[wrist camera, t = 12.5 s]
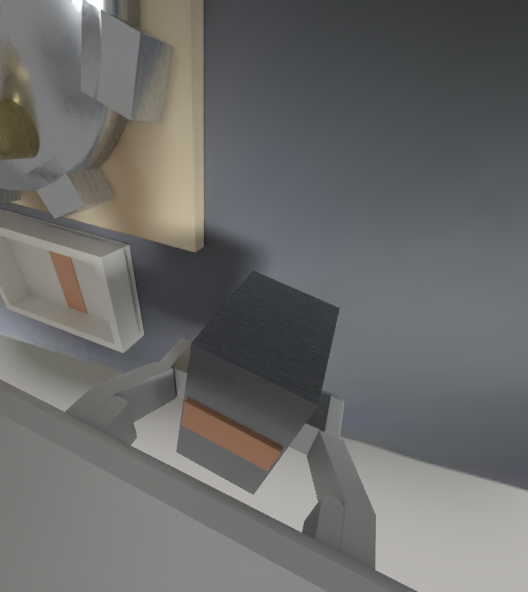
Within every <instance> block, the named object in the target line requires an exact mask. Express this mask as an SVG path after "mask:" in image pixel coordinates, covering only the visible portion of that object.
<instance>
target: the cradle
mask: <svg viewBox="0 0 528 592" xmlns="http://www.w3.org/2000/svg"><path fill="white" fill-rule="evenodd" d="M0 295H1V297H2V299H3V301H4V303H5V305H6V307H7V309H8V310H11V311H14V312H16V313H19V314H22V315H24V316H27V317H29V318H32V319H35V320H37V321H40V322H43V323H45V324H48V325H50V326H53V327H56V328H58V329H61V330H64V331H66V332H69V333H71V334H74V335H77V336H79V337H82V338H85V339H87V340H90V341H93V342H95V343H98V344H100V345H103V346H106V347H108V348H111V349H114V350H116V351H119V352H121V353H125V352H126V351H127V350H128V349H129V348H130V347H131V346H132V345H134V344H135V343H136V342H137V341H138V340H139V339H140V338H141V337H142V336H144V331H143V325H142V319H141V312H140V306H139V300H138V294H137V288H136V282H135V276H134V270H133V264H132V258H131V252H130V246H129V244H125V243H122V242H118V241H115V240H111V239H108V238H104V237H100V236H97V235H93V234H90V233H86V232H82V231H79V230H75V229H72V228H68V227H65V226H61V225H57V224H54V223H50V222H47V221H43V220H40V219H36V218H32V217H29V216H25V215H22V214H18V213H14V212H11V211H7V210H4V209H0Z"/></svg>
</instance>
